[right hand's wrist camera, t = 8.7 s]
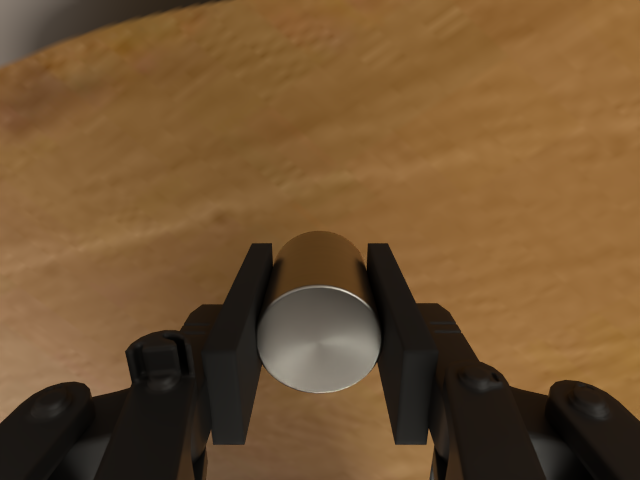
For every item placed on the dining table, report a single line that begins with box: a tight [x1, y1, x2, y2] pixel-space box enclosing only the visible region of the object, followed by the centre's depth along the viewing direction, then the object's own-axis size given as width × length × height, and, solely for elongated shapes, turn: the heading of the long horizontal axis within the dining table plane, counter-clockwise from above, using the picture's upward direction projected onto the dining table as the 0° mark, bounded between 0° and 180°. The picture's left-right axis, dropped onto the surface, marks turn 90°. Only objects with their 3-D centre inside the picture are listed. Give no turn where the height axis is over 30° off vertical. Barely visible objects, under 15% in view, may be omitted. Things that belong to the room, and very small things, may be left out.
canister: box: [256, 231, 383, 393], centre depth 13 cm, size 4×4×5 cm
